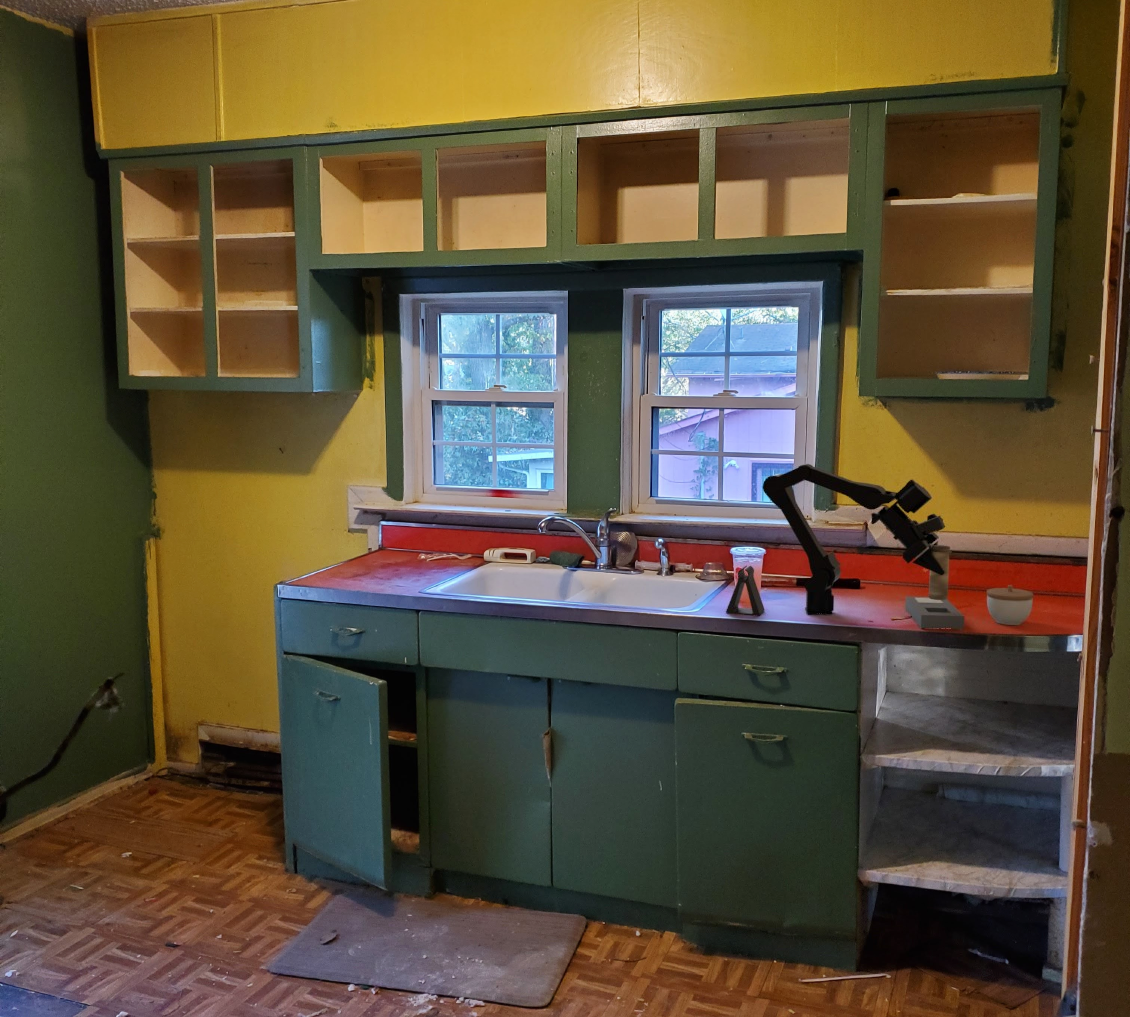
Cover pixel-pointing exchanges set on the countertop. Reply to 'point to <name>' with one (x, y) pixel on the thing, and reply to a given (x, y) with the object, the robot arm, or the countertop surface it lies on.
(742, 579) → the dark a-frame stand
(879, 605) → the countertop surface
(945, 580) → the maple plug
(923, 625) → the grey slotted base
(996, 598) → the lidded jar
